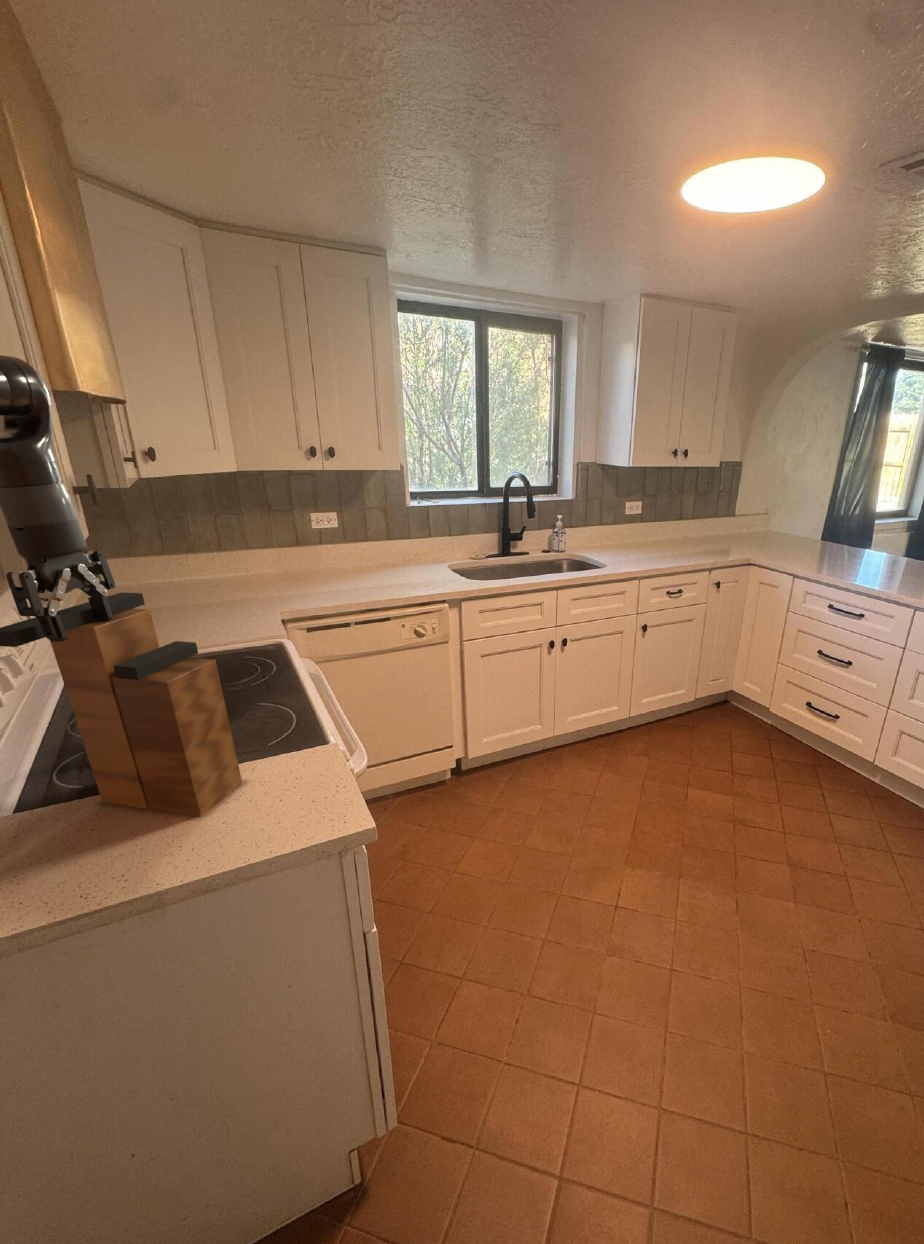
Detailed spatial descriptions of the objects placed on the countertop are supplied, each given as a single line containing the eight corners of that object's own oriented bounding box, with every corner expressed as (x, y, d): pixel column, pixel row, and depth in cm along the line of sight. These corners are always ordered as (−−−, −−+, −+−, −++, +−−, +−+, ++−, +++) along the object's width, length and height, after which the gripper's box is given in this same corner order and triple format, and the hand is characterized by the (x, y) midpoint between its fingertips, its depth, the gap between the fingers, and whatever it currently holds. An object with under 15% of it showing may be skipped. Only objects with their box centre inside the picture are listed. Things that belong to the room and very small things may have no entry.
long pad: (15, 647, 76) (10, 633, 76) (-11, 645, 77) (-16, 631, 76) (145, 604, 97) (142, 593, 96) (124, 603, 97) (121, 592, 96)
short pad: (138, 680, 86) (135, 667, 86) (116, 678, 87) (112, 665, 86) (198, 653, 97) (196, 642, 97) (178, 651, 98) (175, 640, 97)
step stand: (201, 816, 94) (153, 631, 83) (102, 802, 97) (44, 624, 86) (242, 783, 103) (205, 613, 92) (151, 771, 107) (104, 606, 95)
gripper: (59, 511, 84) (95, 614, 91) (-36, 528, 71) (14, 648, 78) (108, 510, 84) (140, 614, 90) (22, 527, 71) (67, 648, 77)
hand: (82, 630), depth 84 cm, fingers open, 8 cm apart
